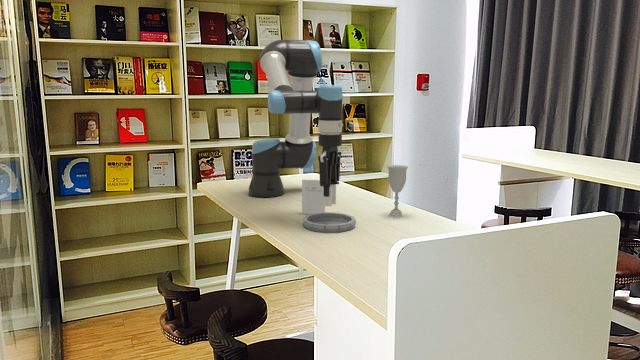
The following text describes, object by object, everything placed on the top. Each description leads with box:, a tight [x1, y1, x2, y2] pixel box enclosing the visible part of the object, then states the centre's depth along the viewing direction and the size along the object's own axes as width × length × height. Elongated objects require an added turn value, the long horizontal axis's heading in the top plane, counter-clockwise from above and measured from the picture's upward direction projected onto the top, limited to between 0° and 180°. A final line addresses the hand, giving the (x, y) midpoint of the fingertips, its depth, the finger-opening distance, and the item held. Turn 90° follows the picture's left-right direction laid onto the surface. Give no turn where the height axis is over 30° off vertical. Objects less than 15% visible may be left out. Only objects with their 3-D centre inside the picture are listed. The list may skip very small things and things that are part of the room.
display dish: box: [302, 212, 357, 234], centre depth 176 cm, size 17×17×2 cm
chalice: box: [387, 164, 409, 219], centre depth 187 cm, size 7×7×18 cm
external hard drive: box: [301, 178, 326, 215], centre depth 191 cm, size 2×8×12 cm, turn 83°
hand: (329, 204), depth 175 cm, fingers open, 3 cm apart
